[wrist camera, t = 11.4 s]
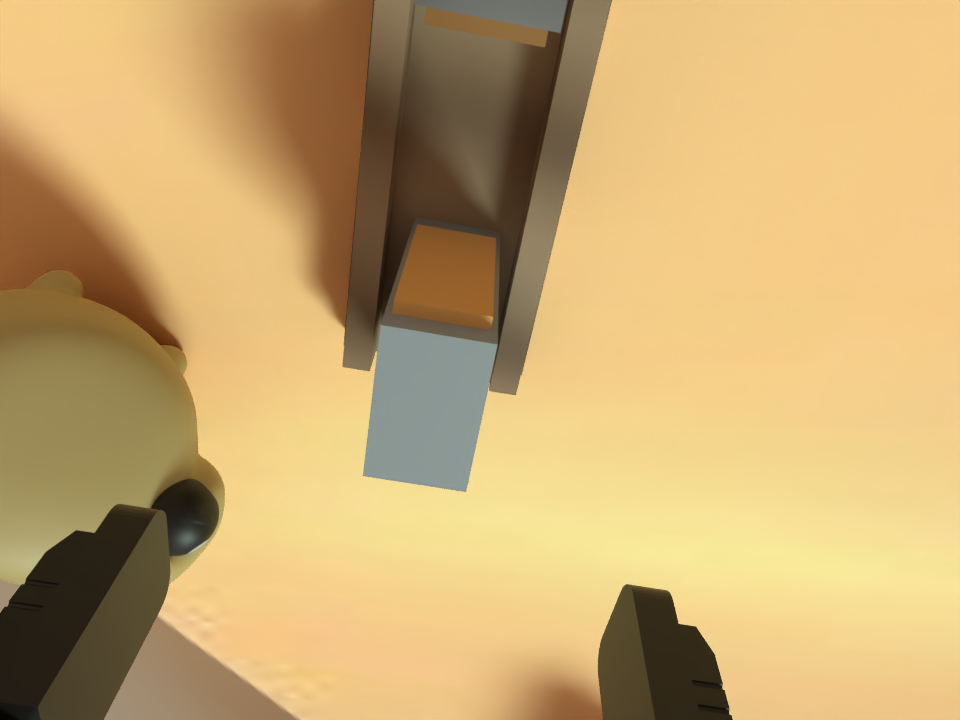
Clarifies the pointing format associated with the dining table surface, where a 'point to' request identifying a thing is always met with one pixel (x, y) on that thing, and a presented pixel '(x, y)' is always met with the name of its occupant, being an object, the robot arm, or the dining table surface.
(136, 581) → the robot arm
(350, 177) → the dining table surface
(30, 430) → the toy pig
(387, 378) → the grey rectangular block
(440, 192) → the rail
